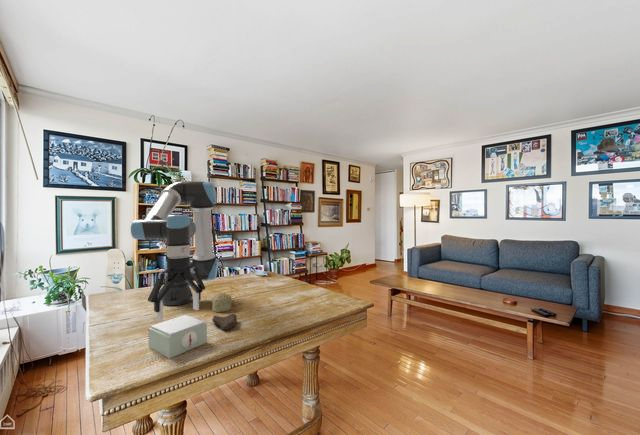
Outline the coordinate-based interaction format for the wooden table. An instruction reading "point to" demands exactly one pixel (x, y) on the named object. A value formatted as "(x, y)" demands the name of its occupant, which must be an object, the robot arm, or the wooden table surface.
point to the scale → (177, 335)
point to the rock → (225, 321)
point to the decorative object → (221, 302)
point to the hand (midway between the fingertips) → (178, 314)
